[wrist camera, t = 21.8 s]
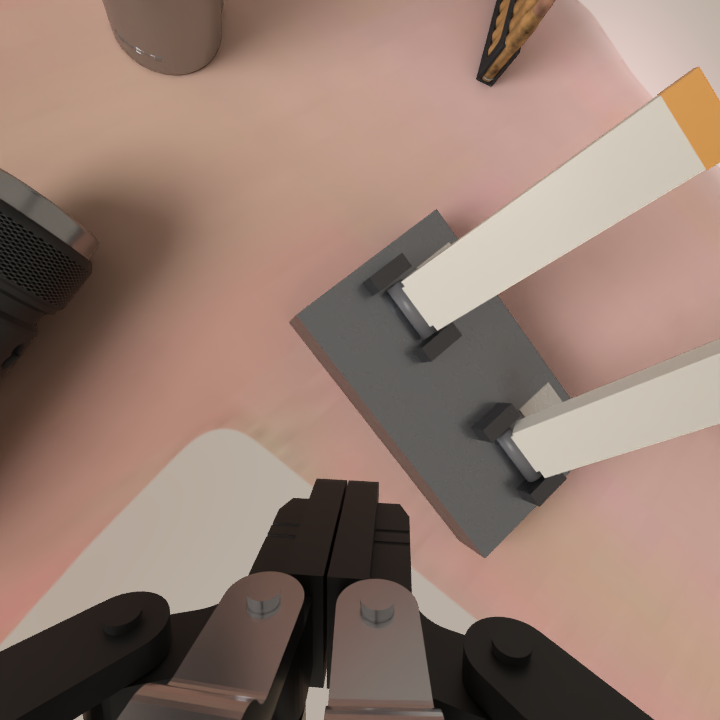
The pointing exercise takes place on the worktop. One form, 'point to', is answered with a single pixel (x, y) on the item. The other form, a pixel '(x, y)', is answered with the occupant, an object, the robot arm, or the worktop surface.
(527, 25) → the ammunition clip
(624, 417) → the lever far
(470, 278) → the lever near
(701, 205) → the worktop surface
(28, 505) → the worktop surface
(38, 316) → the muzzle brake
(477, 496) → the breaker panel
